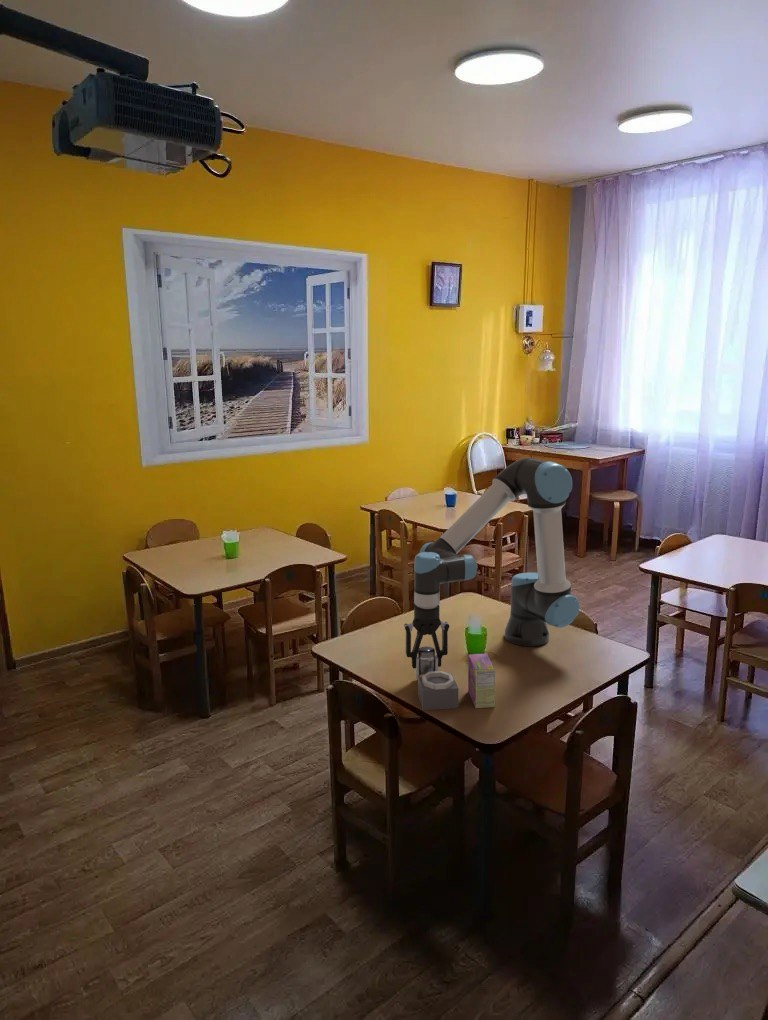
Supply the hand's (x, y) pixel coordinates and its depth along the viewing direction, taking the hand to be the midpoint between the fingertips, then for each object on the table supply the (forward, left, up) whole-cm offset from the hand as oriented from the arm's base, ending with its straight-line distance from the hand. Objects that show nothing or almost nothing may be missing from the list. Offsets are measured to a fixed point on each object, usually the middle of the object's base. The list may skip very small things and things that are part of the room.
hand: (426, 676), depth 209 cm
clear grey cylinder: (0, 0, -1) cm, 1 cm away
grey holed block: (-1, +13, -1) cm, 13 cm away
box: (-14, +13, -2) cm, 19 cm away
